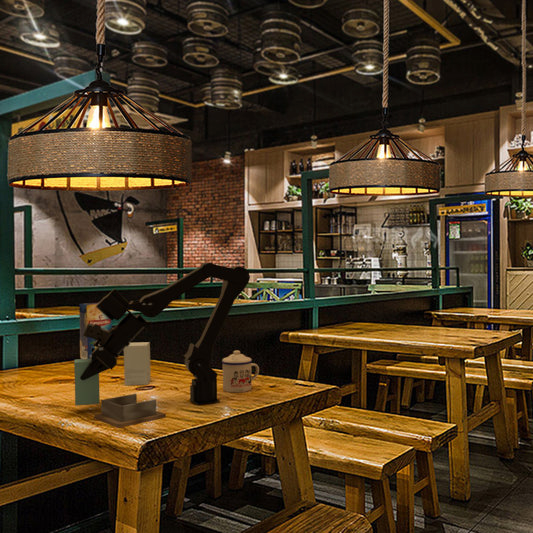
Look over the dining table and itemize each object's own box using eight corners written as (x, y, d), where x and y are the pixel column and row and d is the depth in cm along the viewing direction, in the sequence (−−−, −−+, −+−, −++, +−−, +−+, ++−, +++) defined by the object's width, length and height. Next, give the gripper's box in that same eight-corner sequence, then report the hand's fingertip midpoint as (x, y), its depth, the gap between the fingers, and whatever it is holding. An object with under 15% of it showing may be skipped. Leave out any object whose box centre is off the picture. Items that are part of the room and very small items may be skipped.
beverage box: (112, 356, 242) (112, 303, 242) (87, 360, 235) (86, 304, 235) (104, 355, 247) (103, 302, 247) (79, 358, 240) (79, 304, 240)
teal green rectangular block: (99, 399, 157) (98, 358, 157) (99, 403, 153) (98, 361, 152) (75, 401, 156) (74, 359, 156) (75, 405, 151) (74, 362, 151)
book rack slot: (140, 408, 156) (139, 391, 156) (165, 417, 147) (165, 399, 147) (94, 418, 147) (94, 400, 147) (118, 427, 138) (118, 408, 138)
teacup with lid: (230, 394, 172) (230, 354, 171) (217, 388, 179) (216, 350, 179) (266, 389, 178) (265, 350, 178) (251, 384, 185) (251, 346, 185)
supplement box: (151, 380, 193) (150, 341, 193) (147, 385, 186) (146, 345, 186) (128, 380, 193) (127, 342, 193) (123, 385, 186) (123, 345, 185)
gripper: (101, 309, 164) (59, 351, 161) (101, 315, 146) (55, 362, 143) (130, 336, 166) (90, 378, 163) (135, 345, 148) (90, 392, 145)
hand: (81, 377), depth 154 cm, fingers closed on teal green rectangular block, 5 cm apart
